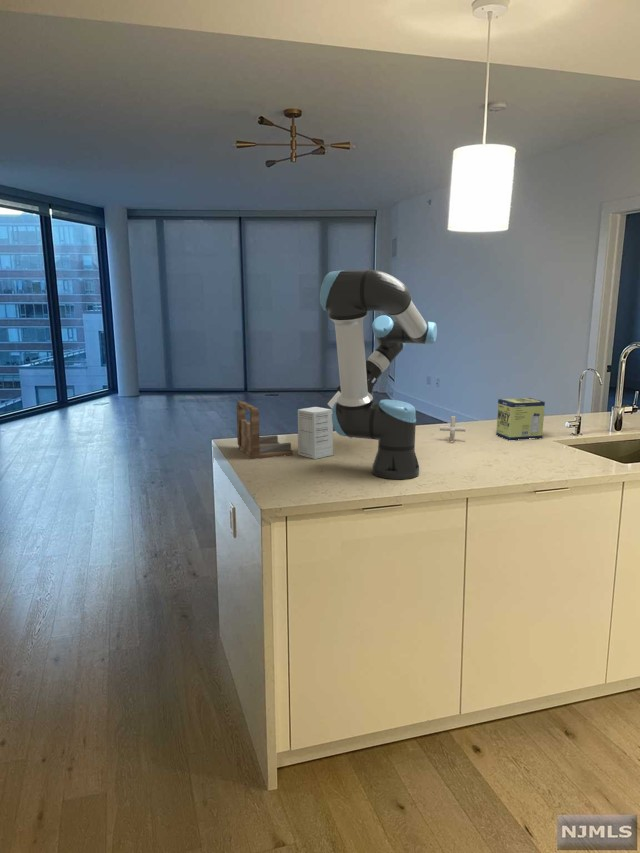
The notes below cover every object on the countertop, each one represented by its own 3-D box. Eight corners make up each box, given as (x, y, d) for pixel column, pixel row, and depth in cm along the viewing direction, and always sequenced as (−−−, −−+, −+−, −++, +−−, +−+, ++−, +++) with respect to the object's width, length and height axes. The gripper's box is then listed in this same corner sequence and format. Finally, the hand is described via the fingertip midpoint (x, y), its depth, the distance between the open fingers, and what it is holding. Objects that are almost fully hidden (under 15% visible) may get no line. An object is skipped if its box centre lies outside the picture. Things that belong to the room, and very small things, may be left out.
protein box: (495, 435, 251) (497, 398, 247) (527, 433, 255) (530, 397, 251) (509, 441, 241) (511, 402, 238) (542, 439, 245) (545, 401, 242)
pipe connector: (465, 444, 234) (466, 419, 232) (439, 443, 236) (440, 418, 234) (464, 439, 244) (465, 414, 241) (439, 437, 245) (440, 413, 243)
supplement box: (333, 455, 217) (334, 409, 213) (314, 459, 211) (314, 412, 207) (316, 450, 224) (316, 406, 220) (297, 454, 218) (297, 408, 214)
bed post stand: (293, 455, 217) (292, 406, 213) (252, 459, 210) (252, 408, 207) (275, 444, 233) (275, 398, 229) (237, 448, 226) (236, 401, 223)
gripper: (398, 376, 212) (360, 422, 209) (364, 369, 234) (329, 410, 231) (385, 362, 208) (347, 408, 206) (352, 356, 231) (317, 397, 228)
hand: (337, 409), depth 218 cm, fingers open, 13 cm apart
